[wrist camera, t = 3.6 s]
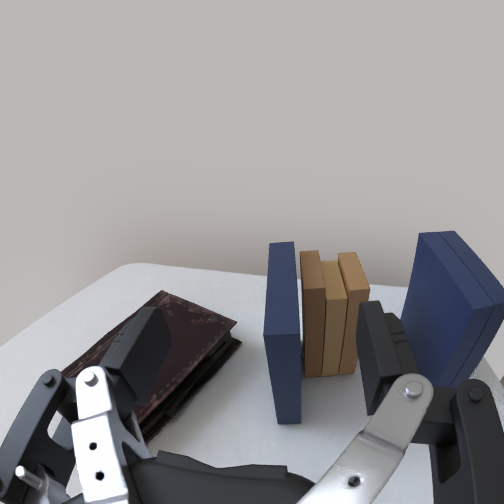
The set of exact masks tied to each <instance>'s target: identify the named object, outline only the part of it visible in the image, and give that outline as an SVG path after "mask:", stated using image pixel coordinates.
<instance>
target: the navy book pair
mask: <svg viewBox="0 0 504 504" xmlns="http://www.w3.org/2000/svg"><path fill="white" fill-rule="evenodd" d="M400 320H401V322H402V325H403V327H404V330H405V333H406V335H407V338H408V342H409V343H410V346H411V349H412V352H413V355H414V357H415V360H416V363H417V366H418V369H419V372H420V374H421V375H422V376H424V377H425V378H427V379H428V380H429V381H430V382H431V384H432V385H433V386H436V387H442V388H454V389H458V387H459V386H460V384H461V383H463V382H464V381H466V380H468V379H469V377H470V376H471V374H472V373H473V371H474V370H475V368H476V367H477V365H478V364H479V362H480V360H481V359H482V357H483V356H484V354H485V352H486V351H487V349H488V347H489V346H490V344H491V342H492V340H493V338H494V337H495V335H496V333H497V331H498V329H499V328H500V326H501V324H502V322H503V320H504V288H503V286H502V285H501V284H500V283H499V281H498V280H497V279H496V277H495V276H494V275H493V274H492V273H491V271H490V270H489V269H488V268H487V267H486V265H485V264H484V263H483V262H482V261H481V259H479V257H478V256H477V255H476V254H475V253H474V252H473V250H472V249H471V248H470V247H469V246H468V245H467V244H466V243H465V242H464V241H463V239H462V238H461V237H460V236H459V235H458V234H457V233H456V232H455V231H444V232H426V233H419V236H418V243H417V248H416V254H415V259H414V265H413V269H412V274H411V279H410V283H409V288H408V292H407V296H406V300H405V304H404V308H403V311H402V315H401V319H400Z"/></svg>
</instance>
